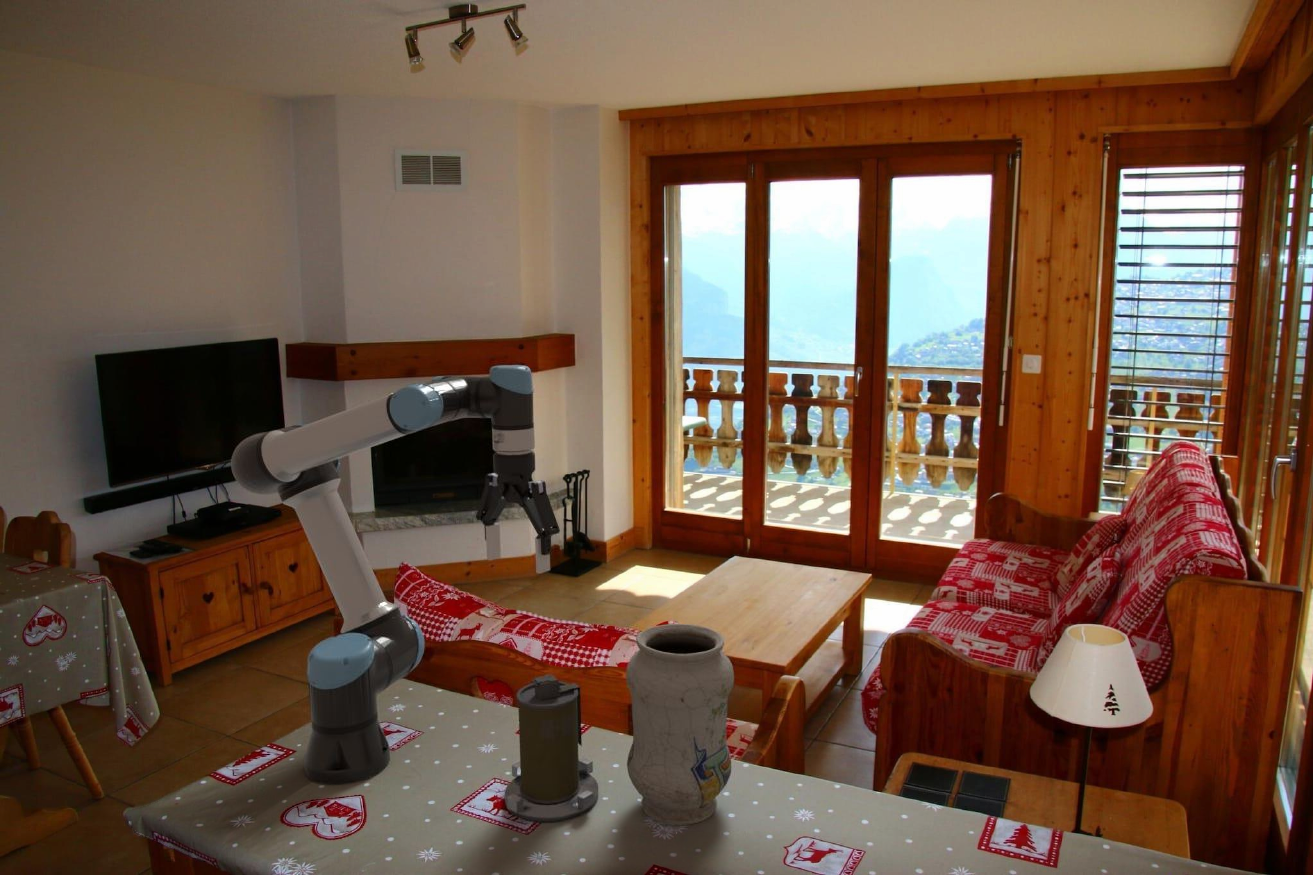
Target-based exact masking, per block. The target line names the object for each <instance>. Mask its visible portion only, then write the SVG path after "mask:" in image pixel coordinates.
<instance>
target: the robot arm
mask: <svg viewBox="0 0 1313 875" xmlns="http://www.w3.org/2000/svg"><path fill="white" fill-rule="evenodd" d="M532 376H533V375H532V371H531V369H530V367H529V366H527V365H522V364H511V365H510V364H509V365H507V364H504V365H503V364H502V365H501V364H500V365H495V366H491V367H490V369H489V375H488V376H465V375H464V376H463V375H455V374H453V375H452V374H450V375H443V376H442V375H439V376H434V377H433V378H432V379H431V381H427V382H426V381H425V382H421V383H420V382H415V383H411V384H408V385H406V386H403V387H401V388H399V389H398V390H396V391H395V392H392V393H389V394H386V395H383V396H381V397H379V398H376V399H373V400H371V401H367V402H365V403H362V404H359V405H357V406H354V407H351V408H349V409H346V410H343V411H340V412H338V413H335V414H332V415H329V416H326V417H324V418H322V419H318V420H316V421H313V422H310V423H308V424H293V425H292V426H287V427H282V428H279V429H274V430H270V431H265V432H259V433H256V434H255V433H254V434H252V435H251V436H248V437H247V438H244V439H243V440H242V441H241V442H240V443H239V444H238V445H237V446H236V447H235V449H234V451H233V453H232V456H231V460H230V461H231V462H230V466H231V473H232V474H233V477H234V479H235V481H236V482H237V483H238V485H239V486H241V487H242V488H243V489H245V490H246V491H248V492H250V493H253V494H257V495H265V496H266V495H273V494H277V493H278V496H279V498H280V500H281V502H282V504H283V505H286V506H288V507H291V508H293V509H294V511H295V513H296V515H297V517H298V520H299V521H300V524H301V526H302V528H303V531H304V533H305V536H306V537H307V540H308V542H309V544H310V546H311V548H312V551H313V553H314V555H315V557H316V560H317V562H318V564H319V566H320V568H321V571H322V573H323V575H324V577H325V580H326V582H327V584H328V586H329V589H330V591H331V593H332V595H333V597H334V599H335V602H336V604H337V607H338V608H339V609H338V610H339V611H340V613H341V614H342V615H341V616H342V617H343V624H342V627H341V628H340V629H341V630H340V633H341V634H338V635H336V636H330V637H328V638H326V639H324V640H321V641H320V642H318V643H317V644H316V645H315V646H313V648H312V649H311V650H310V652H309V654H308V656H307V669H306V678H307V682H308V694H309V695H308V696H309V708H310V718H311V719H310V720H311V732H310V735H309V736H310V737H309V740H308V743H307V744H308V745H307V748H306V752H305V755H304V758H303V759H304V760H303V764H304V774H305V776H306V777H307V778H308V779H309V780H310V781H312V782H315V783H319V784H323V785H344V784H351V783H357V782H359V781H360V782H361V781H363V780H366V779H369V778H371V777H373V776H376V775H377V774H379V773H380V772H382V771H383V770H384V769H385V768H386V767H387V766H388V765H389V763H390V761H391V753H390V752H391V751H390V744H389V742H388V739H387V737H386V735H385V732H384V731H383V729H382V726H381V724H380V722H379V717H378V716H379V714H378V713H379V712H378V698H377V697H378V695H379V694H381V693H382V692H384V691H385V690H386V689H388V688H389V687H390V686H393V684H395V683H396V682H398V681H399V680H401V679H404V678H405V677H407V676H408V675H409V674H410V673H411V672H412V671H413V670H414V669H415V668H416V667H418V665H419V663H420V662H421V661H422V659H423V655H424V653H425V652H424V651H425V637H424V634H423V630H422V629H421V627H420V625H419V624H418V622H417V621H416V620H414V619H413V618H412V619H411V618H410V616H408V615H406V614H403V613H401V610H400V608H399V607H398V605H397V604H395V603H392V602H389V601H388V600H387V599H386V597H385V595H384V592H383V590H382V588H381V586H380V583H379V581H378V579H377V577H376V575H375V572H374V571H373V568H372V566H371V564H370V561H369V559H368V557H367V555H366V552H365V550H364V547H363V546H362V543H361V540H360V539H359V537H358V535H357V533H356V530H355V527H354V526H353V524H352V522H351V519H350V517H349V514H348V512H347V510H346V507H345V505H344V503H343V501H342V498H341V496H340V494H339V492H338V488H339V485H340V484H341V476H340V475H339V472H338V470H339V468H340V465H341V463H340V461H341V460H342V458H344V457H348V456H349V455H353V454H355V453H356V454H357V453H358V452H361V451H364V450H367V449H370V448H372V447H375V446H376V447H377V446H379V445H381V444H384V443H387V442H389V441H393V440H395V439H398V438H402V437H404V436H406V435H410V434H411V435H412V434H413V433H417V432H418V431H422V430H425V429H428V428H430V427H433V426H437V425H441V424H446V423H449V422H452V421H456V420H459V419H467V418H468V419H469V418H474V419H475V418H477V419H478V418H479V419H482V418H483V419H490V420H491V430H492V431H491V432H492V450H493V451H494V454H492V463H493V464H492V465H493V466H492V467H493V472H492V473H487V474H485V477H484V478H485V479H484V480H485V481H484V484H485V485H484V488H483V491H482V495H481V497H480V502H479V504H478V508H477V511H476V515H475V519H476V521H481V523H482V525H483V527H484V539H485V540H484V541H486V560H487V561H493V560H496V559H501V557H502V556H501V554H502V552H501V529H500V528H501V527H500V523H499V517H500V516H501V514H502V513H503V511H504V510H505V508H506V507H507V506H506V505H507V504H508V503H510V502H512V503H513V504H518V506H519V507H521V508H522V509H523V510H524V512H525V514H526V515H527V517H528V519H529V521H530V523H531V524H532V526H533V529H534V530H535V532H536V534H537V535H536V537H535V538H534V541H535V542H534V543H535V544H534V545H535V547H534V549H535V572H536V574H543V573H545V572H549V571H551V556H550V555H551V554H552V536H555V535H558V534H560V532H561V530H560V527H559V524H558V521H557V518H556V516H555V513H554V509H553V507H552V504H551V502H550V499H549V496H548V493H547V484H546V481H545V480H539V481H538V480H537V481H534V480H533V477H532V476H533V473H534V472H535V471H536V453H535V452H534V451H533V450H534V449H535V447H536V441H535V423H534V391H535V389H534V387H533V386H534V385H533V377H532Z"/></svg>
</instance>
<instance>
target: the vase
mask: <svg viewBox="0 0 1313 875" xmlns="http://www.w3.org/2000/svg"><path fill="white" fill-rule="evenodd" d="M635 644H636V646H637V648H638V650H637V651H635V653H634V654H633V655H632V656H631V658H630V659H629V661H628V663H627V667H626V671H625V678H626V679H625V680H626V685H627V688H628V690H629V693H630V696H631V715H632V716H631V717H632V724H633V725H632V726H633V728H632V730H633V731H632V732H633V734H632V735H633V736H632V737H633V738H632V740H633V741H632V743H631V746H630V749H629V752H628V755H627V760H626V767H627V768H626V769H627V773H628V777H629V779H630V781H631V783H632V785H633V787H634V788H635V790H636V791H637V793H638V794H639V795H641V797H642V799H641V807H642V809H643V812H645V814H646V815H647V816H648V817H649V818H650V819H652V820H653V821H656V822H659V824H661V823H662V824H665V825H670V826H685V825H686V826H687V825H693V824H697V823H701V822H703V821H704V820H706V819H708V818H710V817H712V815H713V814H714V813H715V811H716V809H717V806H718V801H717V797H718V796H719V795H720V793H722V791H723V789H725V787H726V786H727V784H728V782H729V779H730V777H731V774H732V757H731V752H730V750H729V747H728V743H727V721H728V720H727V719H728V698H729V696H730V693H731V691H732V689H733V687H734V683H735V682H734V681H735V674H734V673H735V672H734V666H733V664H732V662H731V660H730V658H729V657H728V656H727V655H726V654H725V652H723V651H722V650H723V648H724V645H725V640H724V636H722V634H721V633H719V632H718V631H716V630H714V629H712V628H709V627H706V626H703V625H702V626H701V625H695V624H686V623H684V624H683V623H671V624H670V623H669V624H662V625H655V626H651V627H648V628H646V629H644V630H641V631H640V632H639V633H638V635H637V636H636V638H635Z"/></svg>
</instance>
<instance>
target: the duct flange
mask: <svg viewBox="0 0 1313 875" xmlns="http://www.w3.org/2000/svg"><path fill="white" fill-rule="evenodd" d="M593 772H594V766H593V760H591V759H589V758H586V757H583V756H582V757H581V758H579V782H580V790H579V791H578V792H577V794H576V795H575V796H573V797H571V798H570V799H568V800H565V801H562V802H559V803H550V804H541V803H535V802H531V801H528V800H527V799H525V798H524V797H523V796H522V795H521V793H520V785H521V768H520V760H519V761H518V762H515V763H513V764H512V765H511V773H512V777H514V778H513V779H512V780H511V781H510V782H509V783H508V784H507V786H506V787H505V791H504V803H505V808H506V809H507V811H508V812H509V813H510V814H511V815H513V816H515V817H516V818H518V819H520V820H523V821H527V822H529V823H530V822H532V823H538V824H552V823H554V822H555V823H562V822H566V821H569V820H573V819H575V818H578V817H581V816H583V815H584V814H587V813H588V812H589V811H591V809H593V808H594V806H595V805H596V804H597V802H598V799H599V785H598V784H599V783H598V782H597V780H596V779H595V777H594V776H593V775H592V774H591V773H593Z"/></svg>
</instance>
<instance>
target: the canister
mask: <svg viewBox="0 0 1313 875" xmlns="http://www.w3.org/2000/svg"><path fill="white" fill-rule="evenodd" d="M581 698H582V696H581V687H580V686H579V685H578V684H577V683H576V682H573V683H567V682H565V681H559V679H557V678H556V677H555V676H554V675H553V674H552V673H550V674H549V673H548V674H545V675H543V676H538V677H534V678H533V679H531V680H530V684H527V685H525V686H523V687H521V688H520V689H519V690H518V691H517V692H516V700H517V701H518V702H517V703H518V731H519V732H518V733H519V734H518V735H519V738H518V739H519V761H520V768H521V785H520V793H521V795H522V796H523V797H524V798H525V799H527V800H528V801H531V802H535V803H541V804H550V803H559V802H562V801H565V800H568V799H570V798H571V797H573V796H575V795H576V794H577V792H578V791H579V790H580V782H579V759H580V758H579V746H580V747H582V709H581V708H582V705H581V703H582V699H581Z"/></svg>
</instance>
